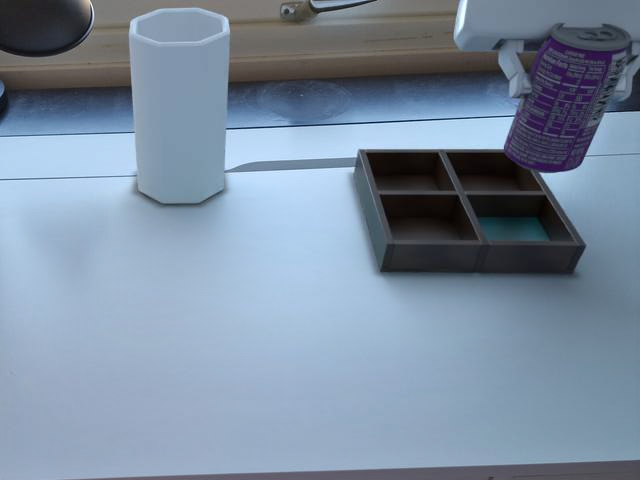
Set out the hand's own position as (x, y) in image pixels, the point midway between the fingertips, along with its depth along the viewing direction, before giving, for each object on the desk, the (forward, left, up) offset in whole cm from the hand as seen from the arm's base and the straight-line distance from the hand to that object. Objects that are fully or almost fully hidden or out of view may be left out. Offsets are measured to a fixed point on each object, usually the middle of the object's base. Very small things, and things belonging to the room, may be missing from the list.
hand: (569, 97), depth 62 cm
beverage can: (0, -1, -7) cm, 7 cm away
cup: (+36, -13, -17) cm, 42 cm away
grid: (+5, -5, -16) cm, 18 cm away
